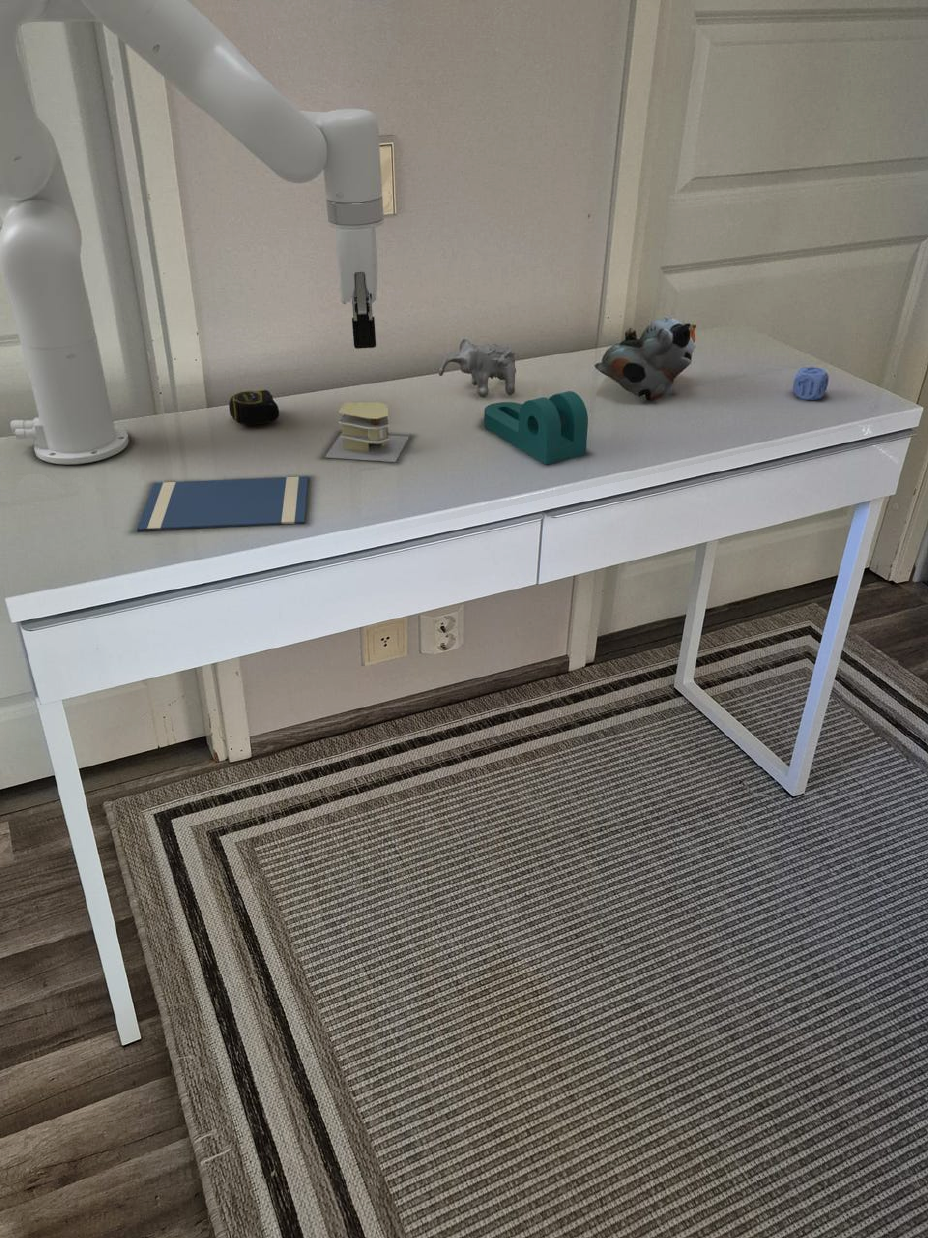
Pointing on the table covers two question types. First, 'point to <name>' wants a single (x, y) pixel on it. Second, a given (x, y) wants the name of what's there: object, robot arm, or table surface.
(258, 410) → the tape measure
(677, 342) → the lucky cat figurine
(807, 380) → the decorative dice
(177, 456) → the table surface
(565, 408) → the bracket
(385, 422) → the stacked layers on plate
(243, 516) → the cloth
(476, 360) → the gray elephant figurine
